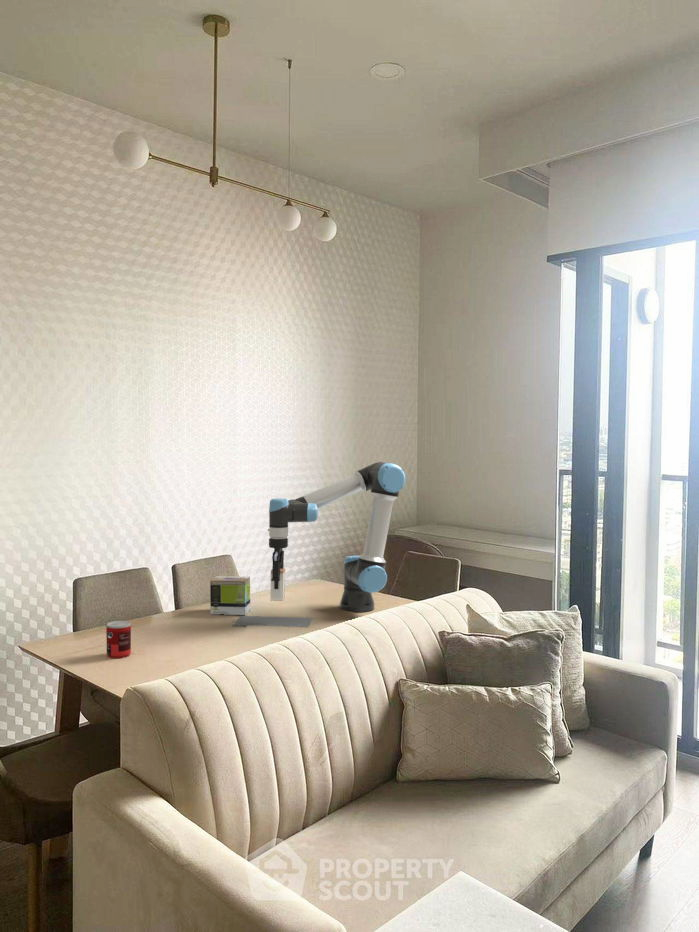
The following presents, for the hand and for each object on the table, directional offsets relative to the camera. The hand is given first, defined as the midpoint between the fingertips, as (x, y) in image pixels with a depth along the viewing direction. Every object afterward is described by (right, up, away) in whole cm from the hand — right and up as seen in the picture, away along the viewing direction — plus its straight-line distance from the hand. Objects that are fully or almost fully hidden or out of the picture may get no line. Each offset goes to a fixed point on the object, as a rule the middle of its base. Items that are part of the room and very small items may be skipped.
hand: (277, 595), depth 287 cm
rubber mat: (-2, -11, +2) cm, 12 cm away
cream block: (0, -2, 0) cm, 2 cm away
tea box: (-22, -11, +17) cm, 30 cm away
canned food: (-50, -13, -42) cm, 67 cm away
